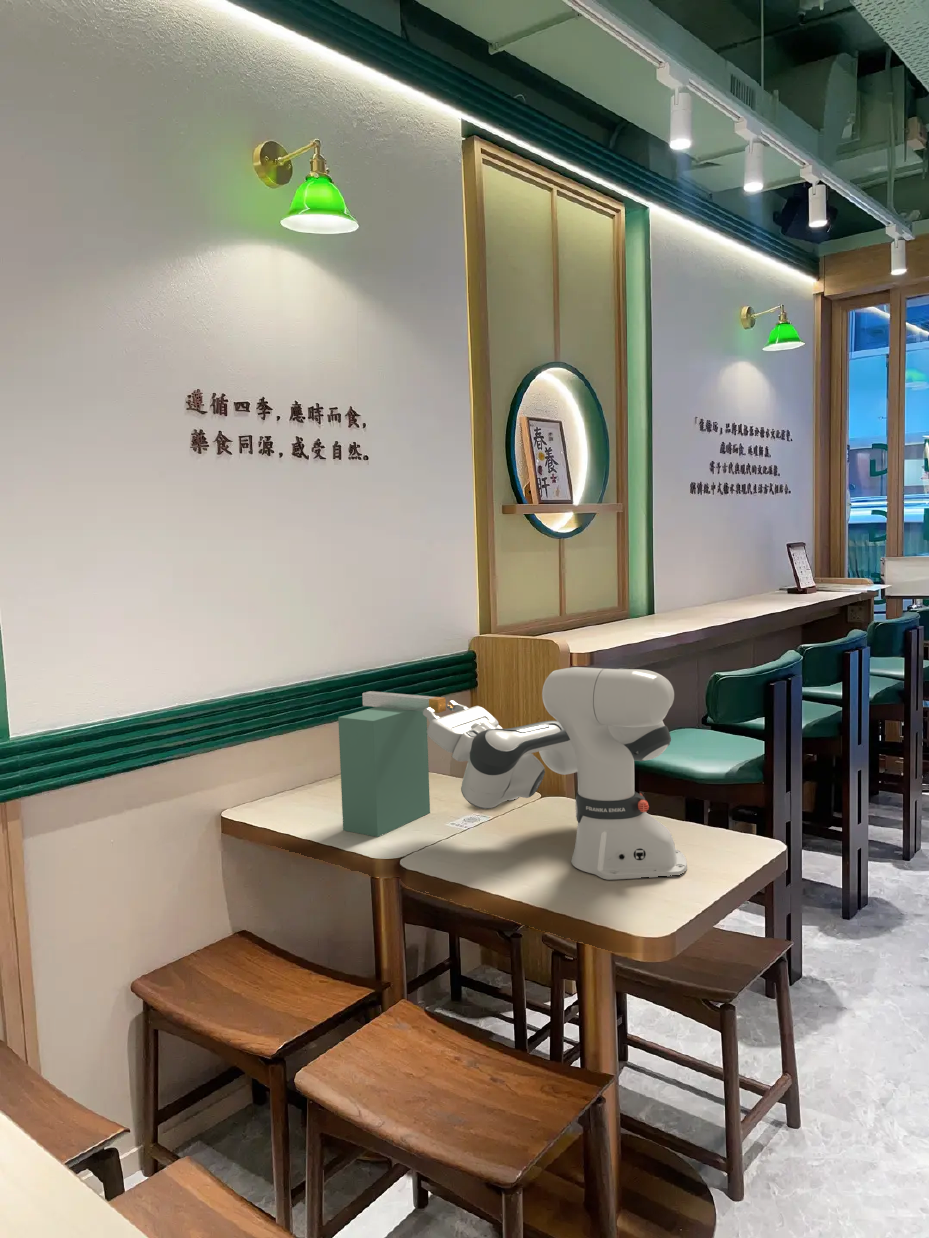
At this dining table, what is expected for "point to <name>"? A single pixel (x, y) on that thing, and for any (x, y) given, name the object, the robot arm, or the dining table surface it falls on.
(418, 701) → the lever bar
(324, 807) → the dining table surface
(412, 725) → the green box
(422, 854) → the dining table surface
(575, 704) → the robot arm
